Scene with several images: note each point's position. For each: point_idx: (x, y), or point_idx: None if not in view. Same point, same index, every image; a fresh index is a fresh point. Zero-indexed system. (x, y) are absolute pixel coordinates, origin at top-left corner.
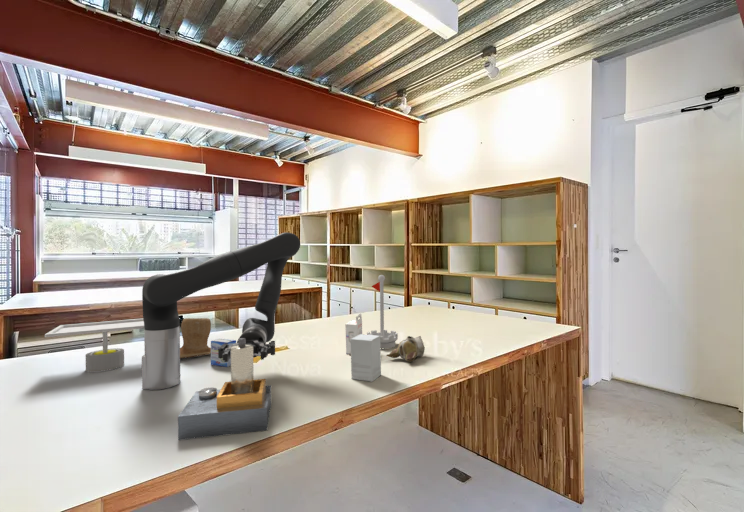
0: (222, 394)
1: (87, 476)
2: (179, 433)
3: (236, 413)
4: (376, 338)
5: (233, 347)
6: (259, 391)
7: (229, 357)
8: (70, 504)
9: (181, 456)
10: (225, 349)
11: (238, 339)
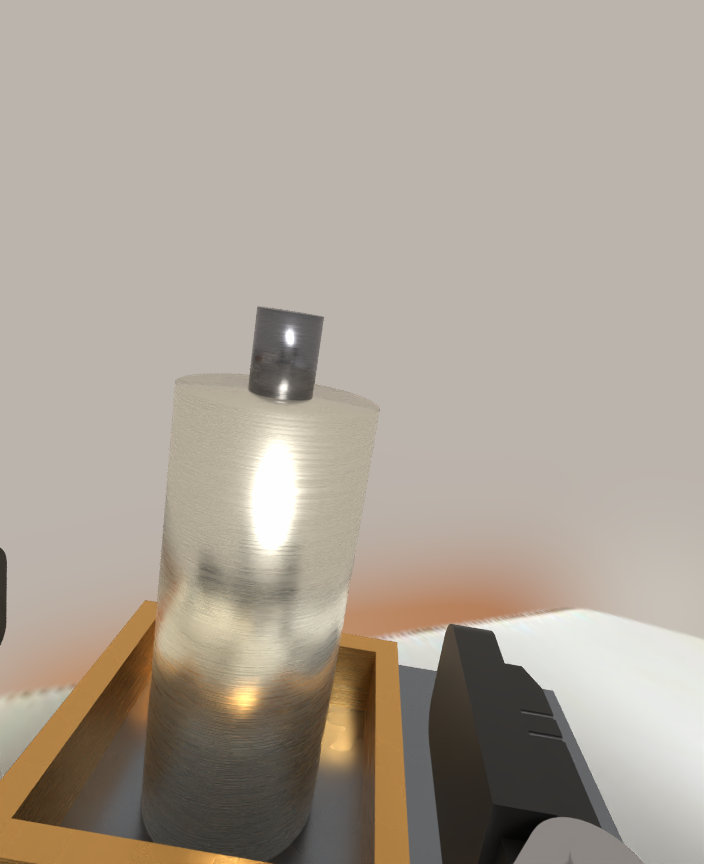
0: (374, 684)
1: (673, 683)
2: None
3: None
4: None
5: (358, 408)
6: (148, 622)
7: (449, 832)
8: (600, 613)
9: None
10: (618, 843)
11: (321, 317)
